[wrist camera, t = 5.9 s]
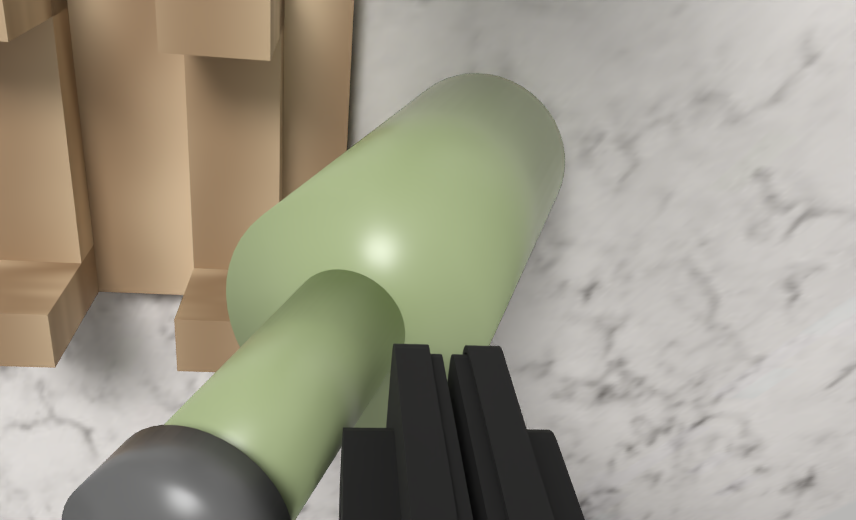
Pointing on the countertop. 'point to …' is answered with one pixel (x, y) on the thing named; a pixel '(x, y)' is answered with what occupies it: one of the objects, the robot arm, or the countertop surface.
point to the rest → (154, 153)
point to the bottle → (348, 303)
